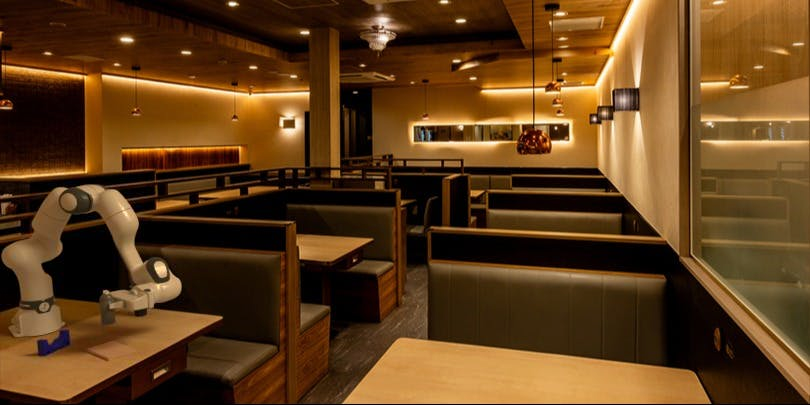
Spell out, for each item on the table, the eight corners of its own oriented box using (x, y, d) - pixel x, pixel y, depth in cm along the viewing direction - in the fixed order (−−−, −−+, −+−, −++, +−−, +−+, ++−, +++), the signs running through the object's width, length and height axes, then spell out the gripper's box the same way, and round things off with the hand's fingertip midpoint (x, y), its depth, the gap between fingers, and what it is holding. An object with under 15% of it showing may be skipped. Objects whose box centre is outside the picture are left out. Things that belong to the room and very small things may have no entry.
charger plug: (99, 323, 207) (96, 291, 206) (111, 320, 211) (109, 288, 210) (105, 325, 205) (102, 293, 203) (118, 322, 208) (115, 290, 207)
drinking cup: (144, 311, 258) (141, 268, 256) (153, 314, 254) (150, 270, 251) (128, 315, 252) (125, 272, 250) (137, 318, 247) (134, 274, 245)
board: (87, 351, 210) (86, 348, 210) (113, 343, 218) (113, 340, 218) (108, 360, 201) (108, 358, 201) (135, 351, 209) (135, 349, 209)
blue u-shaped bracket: (60, 344, 218) (59, 329, 218) (70, 344, 217) (69, 329, 217) (34, 356, 206) (33, 340, 206) (45, 356, 206) (44, 340, 205)
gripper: (126, 284, 223) (90, 292, 212) (154, 292, 211) (118, 301, 200) (127, 299, 224) (91, 308, 213) (155, 308, 212) (119, 318, 201)
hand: (104, 305), depth 206 cm, fingers closed on charger plug, 5 cm apart
